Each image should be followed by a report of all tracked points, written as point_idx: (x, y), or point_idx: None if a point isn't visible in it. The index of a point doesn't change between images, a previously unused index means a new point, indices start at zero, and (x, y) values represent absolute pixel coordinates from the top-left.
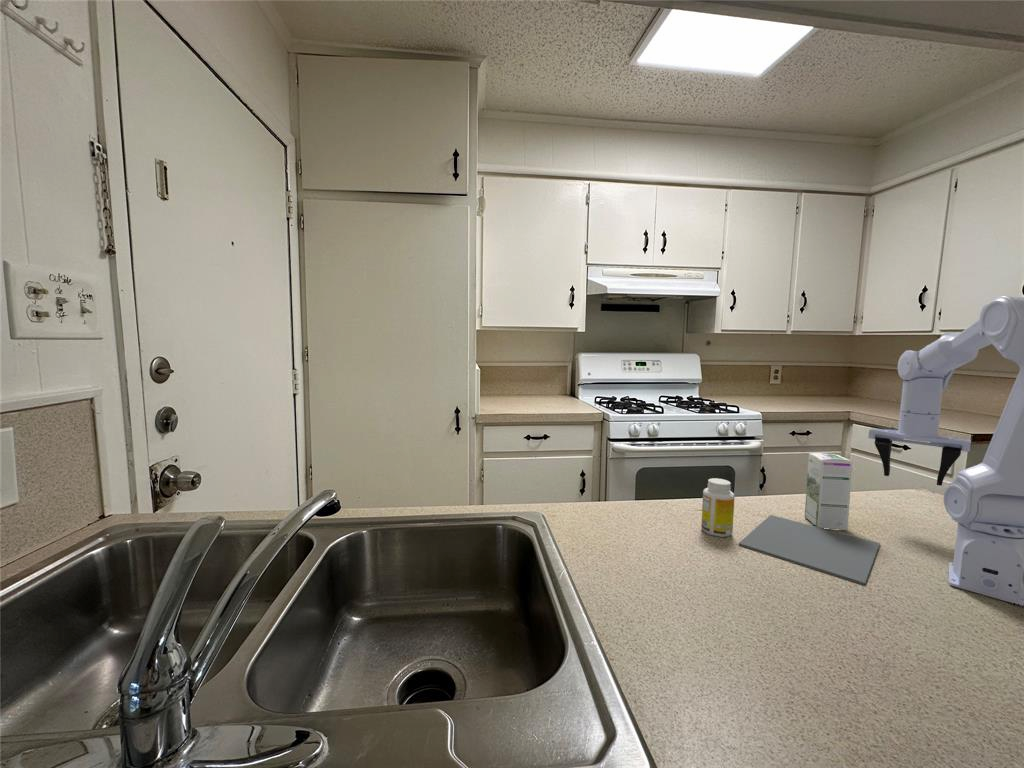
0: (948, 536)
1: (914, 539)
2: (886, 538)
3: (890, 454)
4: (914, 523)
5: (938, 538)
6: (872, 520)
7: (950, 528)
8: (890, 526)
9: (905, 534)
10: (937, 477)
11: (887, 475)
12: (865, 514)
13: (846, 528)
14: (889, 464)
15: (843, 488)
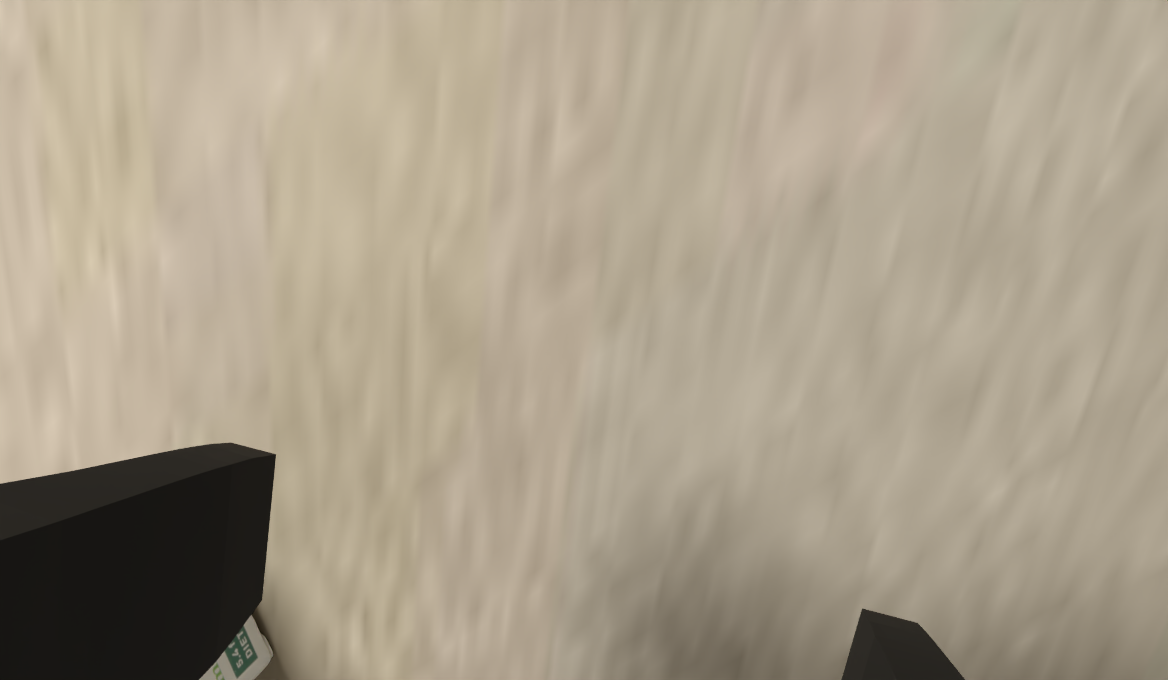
0: (971, 323)
1: (679, 573)
2: (498, 662)
3: (6, 555)
4: (766, 91)
5: (868, 436)
6: (436, 255)
7: (1074, 25)
8: (554, 339)
9: (636, 487)
10: (866, 666)
11: (243, 607)
12: (392, 95)
13: (257, 670)
14: (149, 605)
15: None
